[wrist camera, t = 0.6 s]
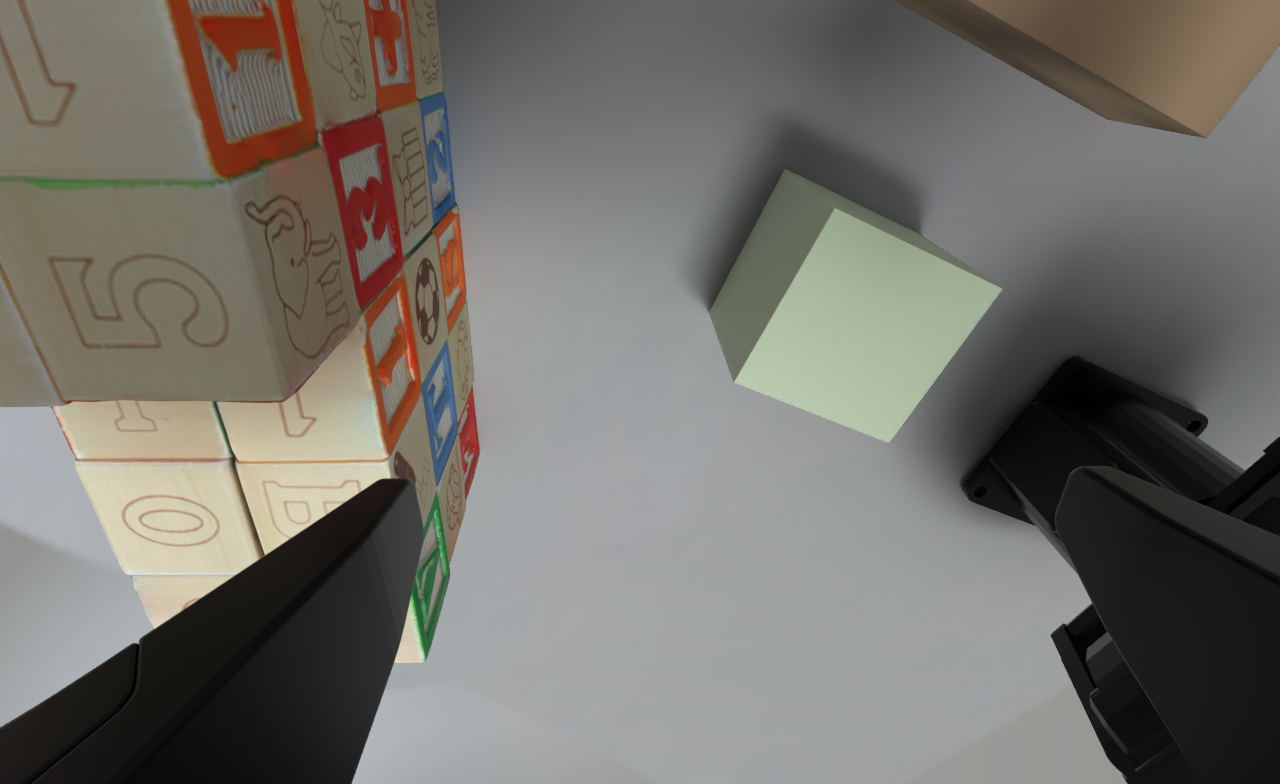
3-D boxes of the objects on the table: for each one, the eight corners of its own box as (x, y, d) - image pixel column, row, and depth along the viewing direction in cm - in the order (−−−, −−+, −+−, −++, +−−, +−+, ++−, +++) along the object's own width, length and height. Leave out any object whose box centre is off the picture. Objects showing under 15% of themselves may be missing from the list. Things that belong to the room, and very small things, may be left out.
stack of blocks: (486, 454, 24) (392, 795, 14) (312, 454, 24) (72, 804, 13) (406, -384, 14) (-267, -1766, 3) (97, -407, 14) (-1833, -2043, 3)
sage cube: (920, 233, 21) (1002, 288, 17) (835, 364, 23) (889, 443, 19) (784, 168, 20) (835, 208, 15) (708, 311, 22) (733, 382, 18)
